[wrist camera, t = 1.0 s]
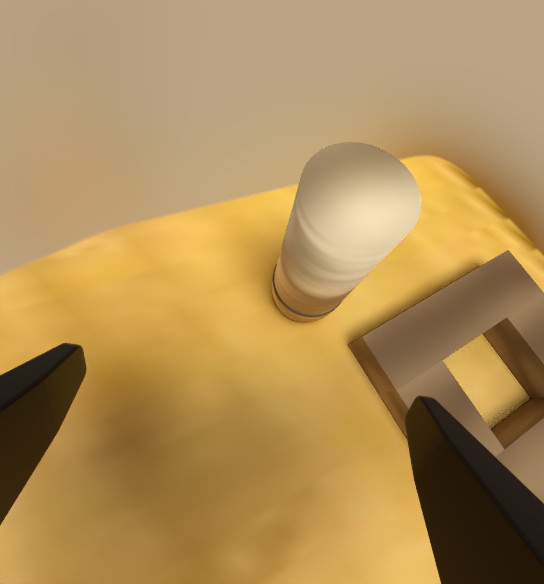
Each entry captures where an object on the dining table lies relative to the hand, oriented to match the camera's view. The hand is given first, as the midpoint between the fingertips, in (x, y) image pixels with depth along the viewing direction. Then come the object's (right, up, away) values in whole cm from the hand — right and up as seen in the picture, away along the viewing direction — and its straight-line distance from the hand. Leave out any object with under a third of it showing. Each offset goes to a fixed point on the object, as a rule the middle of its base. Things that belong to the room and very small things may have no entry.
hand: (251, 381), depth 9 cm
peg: (+3, +2, +17) cm, 17 cm away
